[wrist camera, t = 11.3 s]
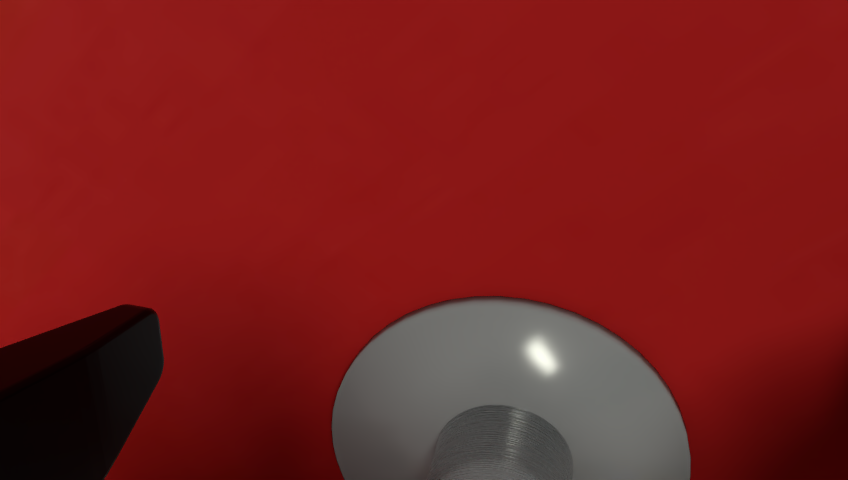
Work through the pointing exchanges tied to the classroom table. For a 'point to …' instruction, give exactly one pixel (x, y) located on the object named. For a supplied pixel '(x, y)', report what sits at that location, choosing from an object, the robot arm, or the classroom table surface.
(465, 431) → the shiny steel cylinder
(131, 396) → the robot arm
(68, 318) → the classroom table surface
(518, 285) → the classroom table surface
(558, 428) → the saucer
